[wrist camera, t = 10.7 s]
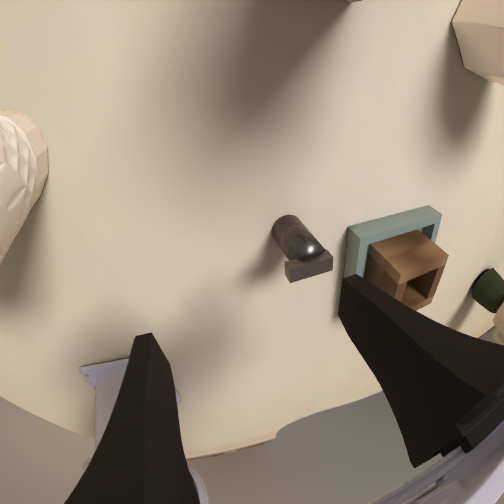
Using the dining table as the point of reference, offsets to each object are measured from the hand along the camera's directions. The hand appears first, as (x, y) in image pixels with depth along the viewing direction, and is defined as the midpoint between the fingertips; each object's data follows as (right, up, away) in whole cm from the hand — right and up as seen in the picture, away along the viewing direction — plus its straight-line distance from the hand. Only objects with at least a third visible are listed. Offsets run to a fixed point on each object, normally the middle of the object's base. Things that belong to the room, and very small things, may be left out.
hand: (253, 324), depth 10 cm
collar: (+13, +2, +15) cm, 20 cm away
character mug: (+38, -2, +27) cm, 47 cm away
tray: (+13, +2, +16) cm, 20 cm away
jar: (+21, +22, +4) cm, 31 cm away
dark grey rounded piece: (+2, +4, +10) cm, 11 cm away
